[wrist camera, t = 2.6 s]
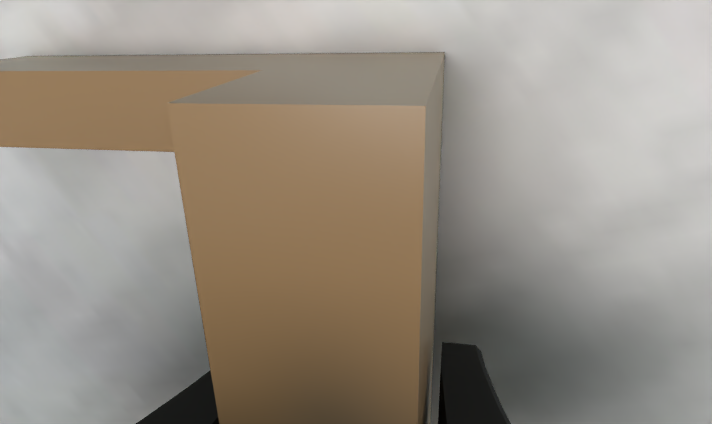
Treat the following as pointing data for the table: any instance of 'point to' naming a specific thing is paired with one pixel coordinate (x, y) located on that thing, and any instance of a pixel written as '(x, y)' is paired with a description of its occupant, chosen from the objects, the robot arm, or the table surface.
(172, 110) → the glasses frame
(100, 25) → the table surface
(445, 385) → the robot arm
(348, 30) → the table surface
